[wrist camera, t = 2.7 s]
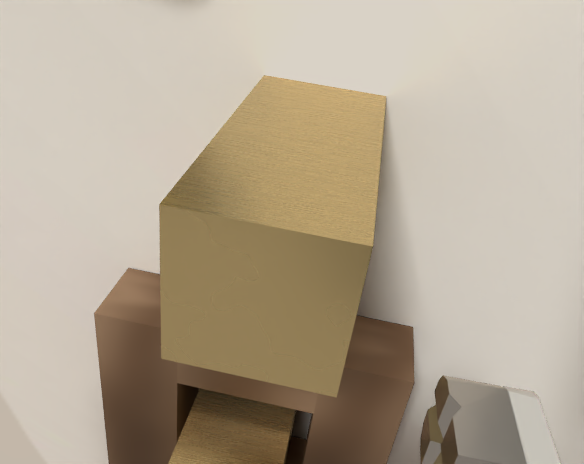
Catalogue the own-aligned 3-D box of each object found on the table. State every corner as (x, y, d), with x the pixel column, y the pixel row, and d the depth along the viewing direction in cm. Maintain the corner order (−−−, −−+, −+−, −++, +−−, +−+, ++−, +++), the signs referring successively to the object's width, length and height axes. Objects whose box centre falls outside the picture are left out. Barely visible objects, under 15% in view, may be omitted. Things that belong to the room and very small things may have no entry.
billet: (386, 96, 17) (372, 246, 10) (362, 204, 19) (336, 397, 12) (264, 75, 18) (159, 204, 10) (254, 184, 20) (161, 358, 12)
